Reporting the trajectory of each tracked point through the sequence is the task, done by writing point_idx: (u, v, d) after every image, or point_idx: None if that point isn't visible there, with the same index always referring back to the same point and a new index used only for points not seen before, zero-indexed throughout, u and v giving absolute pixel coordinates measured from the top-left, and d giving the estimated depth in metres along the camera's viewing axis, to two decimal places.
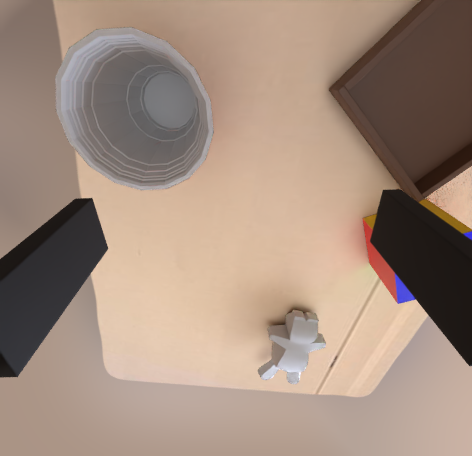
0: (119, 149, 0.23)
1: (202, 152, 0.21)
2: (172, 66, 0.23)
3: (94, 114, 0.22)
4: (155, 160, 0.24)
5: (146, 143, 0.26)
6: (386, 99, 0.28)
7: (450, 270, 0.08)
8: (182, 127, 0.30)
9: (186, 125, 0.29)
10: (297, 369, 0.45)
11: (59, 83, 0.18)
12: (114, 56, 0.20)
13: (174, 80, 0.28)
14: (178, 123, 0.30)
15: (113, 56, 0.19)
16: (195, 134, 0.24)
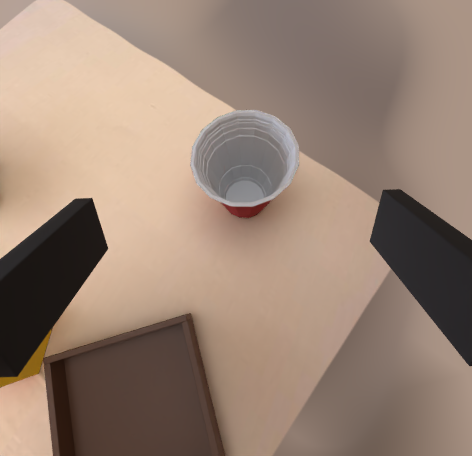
0: (234, 139, 0.31)
1: (201, 183, 0.27)
2: (262, 206, 0.32)
3: (262, 138, 0.30)
4: (214, 156, 0.31)
5: (228, 161, 0.34)
6: (157, 356, 0.32)
7: (450, 270, 0.08)
8: (224, 196, 0.37)
9: (224, 199, 0.37)
10: None
11: (286, 128, 0.27)
12: (283, 171, 0.29)
13: None
14: (228, 195, 0.38)
15: (284, 170, 0.29)
16: None
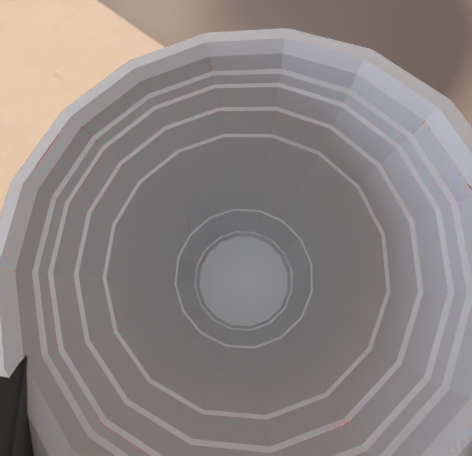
0: (209, 145, 0.10)
1: None
2: (294, 346, 0.11)
3: (299, 145, 0.09)
4: (144, 202, 0.10)
5: (199, 206, 0.13)
6: None
7: None
8: (196, 276, 0.16)
9: (195, 285, 0.16)
10: None
11: (430, 99, 0.06)
12: (386, 266, 0.08)
13: (267, 307, 0.16)
14: (206, 272, 0.17)
15: (388, 265, 0.08)
16: (141, 329, 0.09)
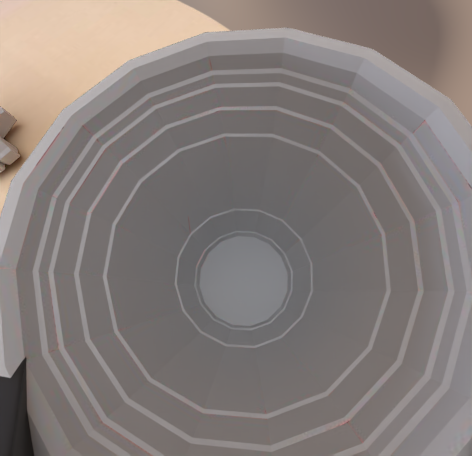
0: (209, 145, 0.10)
1: None
2: (294, 345, 0.11)
3: (300, 145, 0.09)
4: (145, 202, 0.10)
5: (199, 205, 0.13)
6: None
7: None
8: (196, 276, 0.16)
9: (195, 285, 0.16)
10: None
11: (431, 98, 0.06)
12: (387, 266, 0.08)
13: (267, 307, 0.16)
14: (207, 272, 0.17)
15: (389, 264, 0.08)
16: (141, 329, 0.09)
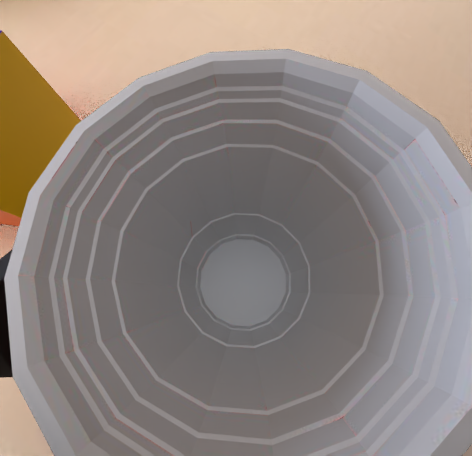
0: (212, 154, 0.10)
1: (37, 379, 0.06)
2: (293, 346, 0.11)
3: (299, 155, 0.10)
4: (150, 208, 0.10)
5: (201, 210, 0.13)
6: None
7: None
8: (197, 278, 0.16)
9: (196, 287, 0.16)
10: None
11: (420, 119, 0.06)
12: (380, 272, 0.08)
13: (266, 308, 0.16)
14: (207, 274, 0.17)
15: (382, 270, 0.08)
16: (147, 330, 0.09)
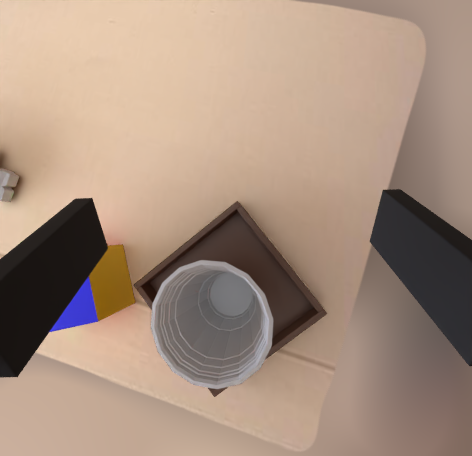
0: (192, 278, 0.26)
1: (178, 370, 0.23)
2: (252, 325, 0.29)
3: (222, 270, 0.26)
4: (180, 303, 0.27)
5: (197, 284, 0.30)
6: (227, 250, 0.35)
7: (450, 270, 0.08)
8: (209, 302, 0.34)
9: (210, 306, 0.34)
10: None
11: (243, 274, 0.22)
12: (259, 303, 0.25)
13: (246, 302, 0.34)
14: (213, 297, 0.34)
15: (259, 302, 0.25)
16: (197, 342, 0.27)
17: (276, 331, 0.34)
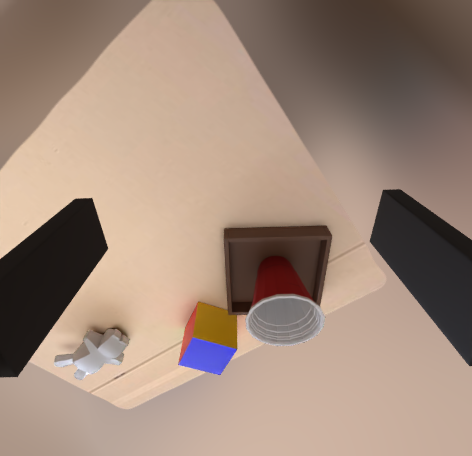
0: None
1: (292, 343, 0.40)
2: None
3: None
4: (260, 315, 0.42)
5: None
6: (247, 254, 0.46)
7: (450, 270, 0.08)
8: None
9: None
10: (87, 371, 0.54)
11: (275, 298, 0.35)
12: None
13: None
14: None
15: None
16: (287, 318, 0.43)
17: (316, 259, 0.46)
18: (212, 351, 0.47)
